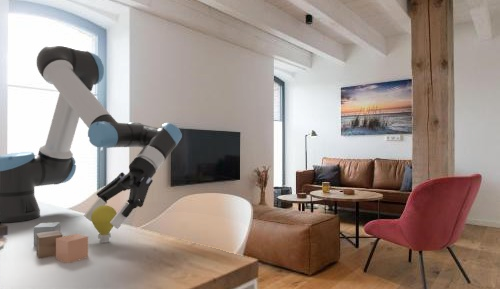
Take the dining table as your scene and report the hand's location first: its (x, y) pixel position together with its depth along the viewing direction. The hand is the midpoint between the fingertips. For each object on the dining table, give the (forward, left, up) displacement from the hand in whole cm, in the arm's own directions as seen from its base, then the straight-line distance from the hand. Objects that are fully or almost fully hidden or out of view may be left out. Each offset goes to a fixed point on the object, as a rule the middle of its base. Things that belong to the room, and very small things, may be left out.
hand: (100, 222), depth 96 cm
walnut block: (+4, -12, -6) cm, 14 cm away
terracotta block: (+10, -7, -6) cm, 14 cm away
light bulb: (-1, +1, -6) cm, 6 cm away
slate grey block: (-7, -13, -6) cm, 16 cm away
